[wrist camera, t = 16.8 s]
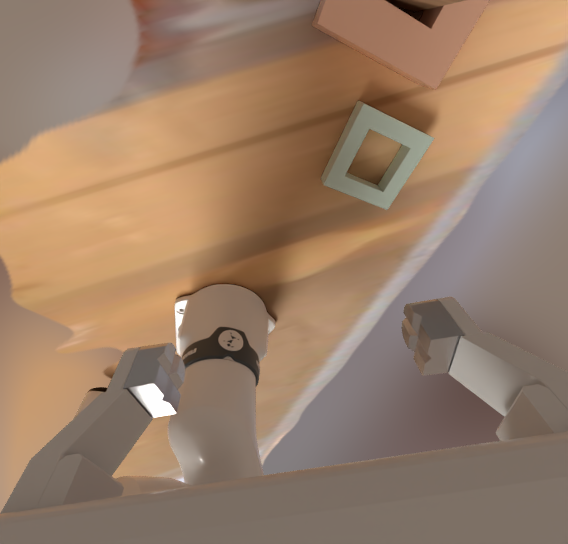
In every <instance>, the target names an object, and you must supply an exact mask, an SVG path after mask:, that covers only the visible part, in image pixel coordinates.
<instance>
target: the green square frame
mask: <svg viewBox="0 0 568 544" xmlns="http://www.w3.org/2000/svg"><path fill="white" fill-rule="evenodd" d="M369 129H371V130H373V131H375V132H377V133H379V134H381V135H384V136H386V137H388V138H390V139H392V140H394V141H396V142H398V143H401V144H402V146H401V147H400V149H399V151H398V152H397V154H396V156H395V157H394V159H393V161H392V162H391V164H390V166H389V167H388V169H387V170H386V172H385V174H384V175H383V177H382V179H381V180H380V182H379V184H378V185H376V184H373V183H371V182H369V181H366V180H364V179H361V178H359V177H356V176H354V175H352V174H349V173H347V170H348V169H349V167H350V165H351V163H352V161H353V159H354V157H355V155H356V153H357V152H358V150H359V148H360V146H361V144H362V142H363V140H364V138H365V136H366V134H367V133H368V131H369ZM433 140H434V138H433V137H431V136H429V135H427V134H425V133H423V132H421V131H419V130H417V129H415V128H413V127H411V126H409V125H407V124H405V123H403V122H401V121H399V120H397V119H395V118H393V117H391V116H389V115H387V114H385V113H383V112H381V111H379V110H377V109H375V108H373V107H371V106H369V105H367V104H365V103H363V102H361V101H359V100H358V101H357V103H356V106H355V108H354V110H353V112H352V114H351V116H350V118H349V120H348V122H347V124H346V126H345V128H344V131H343V133H342V135H341V137H340V139H339V141H338V143H337V145H336V147H335V149H334V151H333V153H332V155H331V158H330V160H329V162H328V164H327V166H326V168H325V170H324V172H323V174H322V176H321V181H322V183H323V185H324V186H327V187H330V188H332V189H335V190H337V191H340V192H342V193H345V194H348V195H350V196H353V197H355V198H358V199H360V200H363V201H366V202H368V203H371V204H373V205H376V206H378V207H381V208H384V209H386V210H388V208H389V207H390V205H391V204H392V202H393V201H394V199H395V197H396V196H397V194H398V193H399V191H400V190H401V188H402V187H403V185H404V184H405V182H406V181H407V179H408V178H409V176H410V175H411V173H412V172H413V170H414V169H415V167H416V166H417V164H418V163H419V161H420V160H421V158H422V156H423V155H424V153H425V152H426V150H427V149H428V147H429V146H430V144H431V143H432V141H433Z"/></svg>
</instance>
